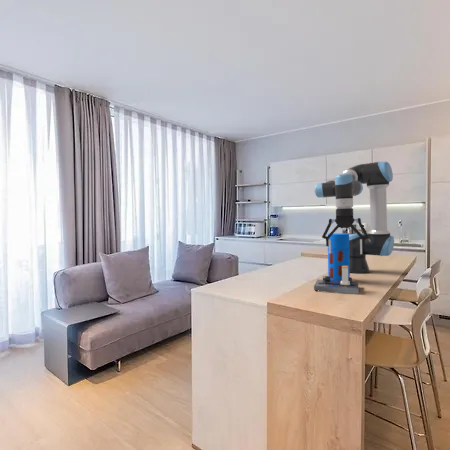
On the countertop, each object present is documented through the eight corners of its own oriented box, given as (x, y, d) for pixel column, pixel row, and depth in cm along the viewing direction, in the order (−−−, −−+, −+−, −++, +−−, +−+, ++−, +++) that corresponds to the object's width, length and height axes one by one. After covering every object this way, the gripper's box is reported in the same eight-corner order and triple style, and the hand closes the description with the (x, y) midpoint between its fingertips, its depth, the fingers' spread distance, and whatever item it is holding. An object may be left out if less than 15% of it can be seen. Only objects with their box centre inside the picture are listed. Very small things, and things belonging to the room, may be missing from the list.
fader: (340, 282, 145) (340, 265, 144) (350, 282, 143) (349, 265, 143) (340, 284, 140) (340, 267, 140) (349, 285, 138) (349, 267, 138)
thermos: (351, 282, 156) (351, 234, 155) (329, 282, 158) (329, 234, 157) (347, 278, 167) (346, 233, 166) (327, 278, 169) (326, 233, 168)
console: (317, 284, 155) (317, 275, 154) (358, 286, 147) (358, 277, 147) (314, 291, 141) (313, 281, 141) (358, 294, 134) (358, 284, 134)
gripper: (315, 209, 142) (316, 254, 143) (374, 206, 132) (375, 255, 133) (317, 209, 149) (318, 251, 150) (373, 206, 139) (374, 252, 140)
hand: (345, 253), depth 141 cm, fingers open, 13 cm apart
